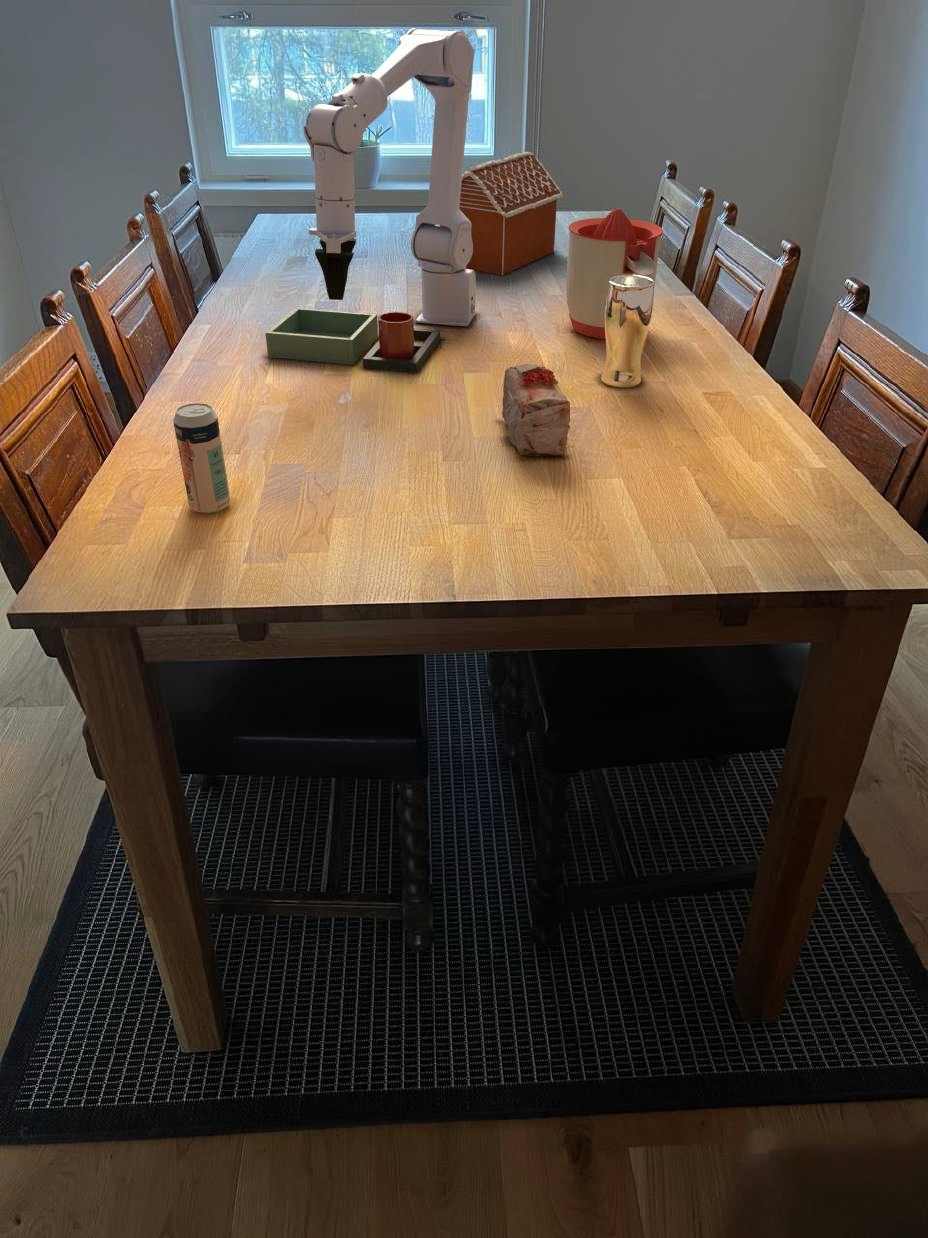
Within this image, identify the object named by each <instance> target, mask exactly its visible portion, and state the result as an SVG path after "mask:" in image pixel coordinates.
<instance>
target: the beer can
mask: <svg viewBox="0 0 928 1238" xmlns="http://www.w3.org/2000/svg"><path fill="white" fill-rule="evenodd" d="M172 423H173V428H174V434H175V438H176V445H177V449H178V454H179V460H180V465H181V470H182V471H181V472H182V475H183V481H184V486H185V492H186V497H187V502H188V507H189V509H191V510H192V511H194V512H197V513H199V514H204V515H205V514H207V515H208V514H216V513H219V512H221V511H223V510H224V509H225V508H227V507H228V506H229V505H230V504H231V502H232V501H231V494H230V487H229V480H228V475H227V469H226V468H227V467H226V461H225V456H224V455H225V454H224V449H223V444H222V443H223V442H222V437H221V436H222V435H221V430H220V424H219V418H218V414H217V413H216V411H215V410H214V409H213V406H211V405H209V404H207V403H200V402H193V403H187V404H186V403H185V404H183V405H181V406H179V407H177V409H176V411H175V414H174V417H173V418H172Z"/></svg>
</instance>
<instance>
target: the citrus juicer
mask: <svg viewBox="0 0 928 1238" xmlns="http://www.w3.org/2000/svg"><path fill="white" fill-rule="evenodd" d="M567 229H568V231H569V234H568V236H569V237H568V250H567V260H566V261H567V262H566V263H567V264H566V275H565V294H566V304H567V308H568V316H569V320H570V323H571V326H572V328H573V330H574V332H577V333H579V334H580V335H583V336H588V337H591V338H594V339H596V340H601V341H603V340H606V338H605V319H604V317H605V305H606V297H607V292H608V286H609V279H610V278H612V277H614V276H618V275H639V276H644V277H648V278H650V279H652V280H654V282H655V283H654V286H655V284H656V278H657V277H656V276H657V270H658V269H657V268H658V263H659V254H660V253H659V252H660V246H661V238H662V235H663V234H664V230H663V228H662V227H661V226H660V225H657V224H655V223H652V222H649V221H644V220H639V219H633V218H628V216H627V215H626V214H625V212H624V211H623V210H621V208H619V207H616V208H614V209H613V210H612V211H611V212H609V213H608V214H607V215H606V216H605V217H593V218H585V219H580V220H576V221H573V222H572V223H570V224H569V225H568V227H567Z"/></svg>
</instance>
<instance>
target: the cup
mask: <svg viewBox="0 0 928 1238" xmlns="http://www.w3.org/2000/svg"><path fill="white" fill-rule="evenodd" d="M377 320H378V341H379V351H380V358H392V359H403V360H411V359H412V358H413V357H414V356H415V355H414V344H415V339H414V328H415V325H414V323H415V322H414V316H413V314H411V313H408V312H405V311H404V312H403V311H389V312H384V313H381V314H379V315H377Z"/></svg>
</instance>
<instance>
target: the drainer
mask: <svg viewBox="0 0 928 1238" xmlns="http://www.w3.org/2000/svg"><path fill="white" fill-rule="evenodd" d="M441 339H442V330H441V329H430V328H418V327H414V340H423V341H424V343H414V357H413V358H412V359H411V360H403V359H392V358H380V351H379V340H377V342H376V343H375V344H374V345H373V347H371V348H370V350H368V352H367V353H366V354H365V355H364V357H363V358H362V368H364V369H373V370H374V369H375V370H385V371H396V372H397V371H398V372H407V373H408V372H409V373H418V371H419V370H420V369H421V367H422V366H423V364H425V361H426V360H427V358H428V357H429V356H430V355H431V354H432V352H433V350H434V349H435V348H436V346H437V345H438V344H439V342H440V341H441Z"/></svg>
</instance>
